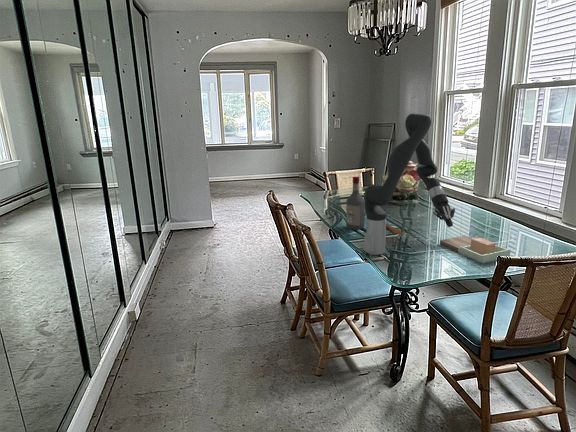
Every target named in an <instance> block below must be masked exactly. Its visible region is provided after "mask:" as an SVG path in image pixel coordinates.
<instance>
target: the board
mask: <svg viewBox="0 0 576 432" xmlns="http://www.w3.org/2000/svg"><path fill="white" fill-rule="evenodd" d="M471 239H474V238H473V237H470V236H467V235H461V236H455V237H449V238H445V239H440V240H439V246H441V247H443V248H446V249H448V250H450V251H453V252H455V253H457V254H459V253H458V248H459V246H461V247H465V246H470V245H471Z"/></svg>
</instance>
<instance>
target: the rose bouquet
mask: <svg viewBox="0 0 576 432" xmlns="http://www.w3.org/2000/svg"><path fill="white" fill-rule="evenodd" d="M418 164H419V163H418V162H416V163H415V162H414V161H411V160H410V161H409V163H408V165H407V167H406V168H405V170H404V172H403V173H402V175H401V177H400V179H399V181H398V183H397V186H396V188H395V190H394V193H393V195H392V197H391V199H390V201H389V202H388V203H394V204H396V205H398V206H403V205H404V206H405V205H410V204H415V203H416V204H417V203H420V202H421V199H420V198H419V192H416V191H418V190H419V185H420V182H421V179H420V177H419V176H418V175H417V172H416V170H417V168H418ZM387 177H388V171H387V172H386V173H385V175H383V176H382V180H381V182H382V184H381V186H383V185H384V183H385V181H386V179H387Z"/></svg>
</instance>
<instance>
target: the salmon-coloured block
mask: <svg viewBox="0 0 576 432" xmlns="http://www.w3.org/2000/svg"><path fill="white" fill-rule="evenodd" d="M495 245H497V244H496V242H493V241H491V240H488V239H485V238H482V237H475V238H473V239H471V248H470V250H471V251H473V252H476V253H478V254H480V255H485V254H489V253H494V252H495Z"/></svg>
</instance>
